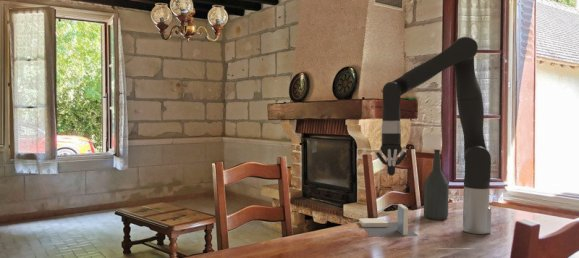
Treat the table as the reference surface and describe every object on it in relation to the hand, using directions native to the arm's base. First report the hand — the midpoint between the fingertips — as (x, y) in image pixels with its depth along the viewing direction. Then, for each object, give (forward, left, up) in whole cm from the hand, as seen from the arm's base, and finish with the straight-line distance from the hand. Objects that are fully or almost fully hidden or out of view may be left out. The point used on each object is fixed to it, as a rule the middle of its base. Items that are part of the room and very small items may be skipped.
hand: (390, 175), depth 186 cm
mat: (+3, +6, -21) cm, 22 cm away
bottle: (-24, -16, -21) cm, 36 cm away
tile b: (-2, +11, -20) cm, 23 cm away
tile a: (+2, -1, -19) cm, 19 cm away
